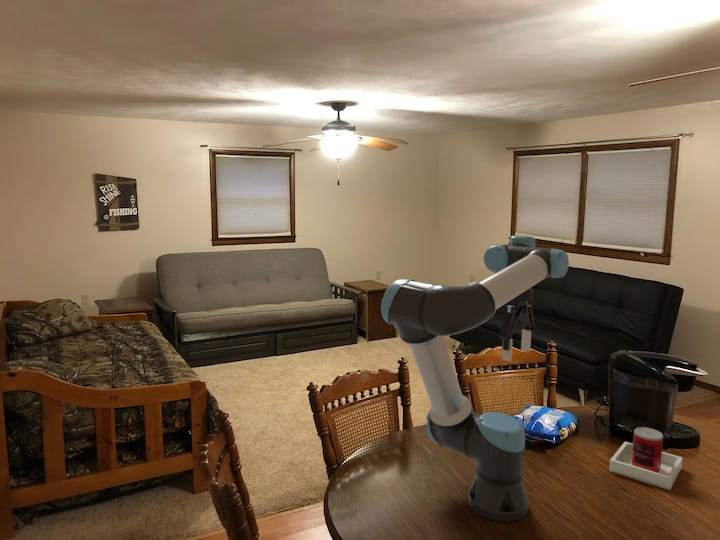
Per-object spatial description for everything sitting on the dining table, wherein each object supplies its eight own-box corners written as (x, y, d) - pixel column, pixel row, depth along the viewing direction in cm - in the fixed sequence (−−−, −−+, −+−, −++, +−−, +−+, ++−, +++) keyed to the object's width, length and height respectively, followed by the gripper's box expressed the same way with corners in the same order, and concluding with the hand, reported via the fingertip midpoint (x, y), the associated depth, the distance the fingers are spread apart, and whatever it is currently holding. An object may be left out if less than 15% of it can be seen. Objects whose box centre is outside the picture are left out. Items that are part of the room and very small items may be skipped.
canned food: (653, 461, 166) (656, 427, 165) (665, 475, 158) (668, 439, 157) (626, 460, 167) (629, 426, 165) (637, 473, 159) (640, 438, 158)
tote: (670, 490, 152) (671, 478, 151) (609, 471, 162) (610, 460, 161) (681, 468, 164) (682, 457, 163) (624, 451, 174) (624, 441, 173)
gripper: (513, 294, 153) (510, 367, 156) (548, 283, 172) (544, 348, 175) (489, 291, 158) (486, 361, 161) (525, 280, 177) (521, 344, 180)
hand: (516, 355), depth 168 cm, fingers open, 13 cm apart
